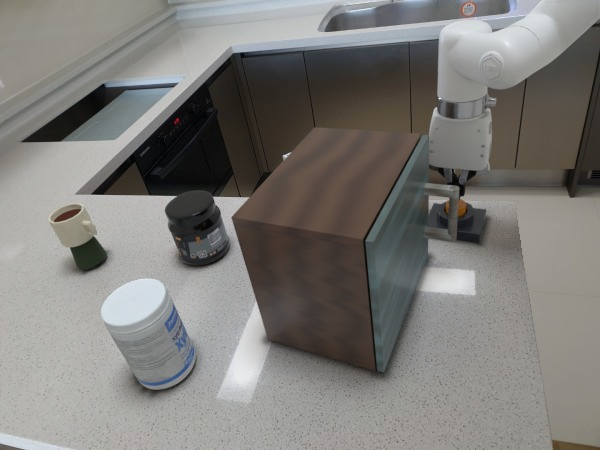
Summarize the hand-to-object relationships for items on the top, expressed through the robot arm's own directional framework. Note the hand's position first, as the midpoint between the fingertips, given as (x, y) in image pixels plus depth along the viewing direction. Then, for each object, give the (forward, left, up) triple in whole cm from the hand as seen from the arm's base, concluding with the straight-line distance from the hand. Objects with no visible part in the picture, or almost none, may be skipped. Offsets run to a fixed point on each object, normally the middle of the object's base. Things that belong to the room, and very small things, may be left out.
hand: (455, 197), depth 85 cm
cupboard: (+13, +23, -7) cm, 27 cm away
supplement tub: (+35, +46, -7) cm, 58 cm away
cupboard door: (+1, +23, -7) cm, 24 cm away
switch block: (0, 0, -7) cm, 7 cm away
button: (0, 0, -3) cm, 3 cm away
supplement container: (+46, +20, -7) cm, 51 cm away
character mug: (+69, +30, -7) cm, 75 cm away
